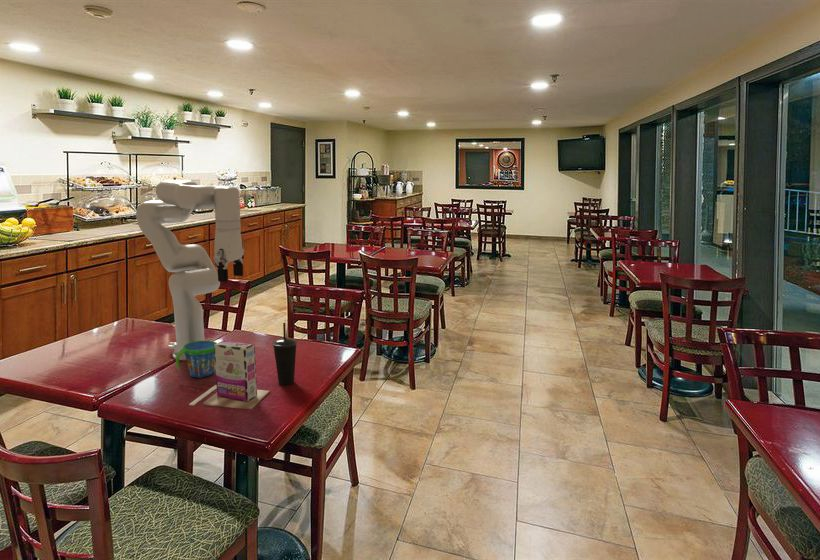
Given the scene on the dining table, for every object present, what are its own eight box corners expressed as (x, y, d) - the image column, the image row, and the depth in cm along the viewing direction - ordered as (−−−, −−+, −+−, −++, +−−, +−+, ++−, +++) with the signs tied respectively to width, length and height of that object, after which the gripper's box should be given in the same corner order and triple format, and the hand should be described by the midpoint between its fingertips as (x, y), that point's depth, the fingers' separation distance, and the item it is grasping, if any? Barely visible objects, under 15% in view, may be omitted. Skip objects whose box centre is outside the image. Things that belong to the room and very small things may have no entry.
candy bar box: (258, 396, 152) (255, 343, 148) (247, 402, 147) (244, 349, 144) (227, 390, 155) (224, 339, 152) (216, 396, 151) (213, 344, 147)
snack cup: (222, 364, 177) (220, 337, 175) (230, 374, 169) (229, 345, 167) (173, 373, 168) (171, 344, 166) (180, 384, 160) (178, 354, 158)
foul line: (189, 405, 146) (188, 404, 146) (215, 385, 159) (214, 385, 159) (193, 405, 146) (193, 404, 146) (219, 386, 159) (219, 385, 159)
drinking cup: (276, 378, 166) (274, 319, 162) (299, 377, 167) (298, 319, 163) (271, 387, 159) (269, 326, 155) (296, 387, 160) (294, 326, 156)
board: (202, 404, 146) (202, 403, 146) (224, 388, 158) (224, 386, 158) (251, 409, 144) (251, 407, 144) (269, 392, 155) (269, 390, 155)
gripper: (231, 223, 170) (233, 273, 173) (202, 228, 153) (205, 283, 157) (251, 224, 169) (254, 274, 172) (225, 228, 152) (228, 284, 155)
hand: (231, 278), depth 164 cm, fingers open, 9 cm apart
